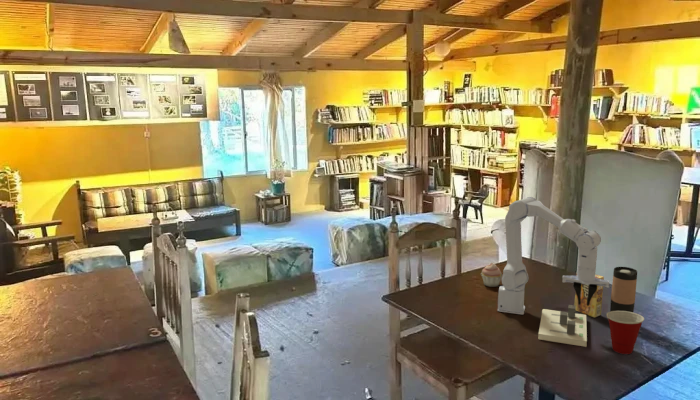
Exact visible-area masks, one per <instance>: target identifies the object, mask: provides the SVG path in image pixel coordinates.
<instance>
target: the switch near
mask: <svg viewBox="0 0 700 400" xmlns="http://www.w3.org/2000/svg"><path fill="white" fill-rule="evenodd" d="M567 334H572V335H575V321H570V320H568V323H567Z"/></svg>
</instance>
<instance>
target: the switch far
mask: <svg viewBox="0 0 700 400" xmlns="http://www.w3.org/2000/svg"><path fill="white" fill-rule="evenodd" d="M567 308H568V309H567V312H568V317H569V318H575V313H576V306H574V304H573V305H572V304H568V307H567Z"/></svg>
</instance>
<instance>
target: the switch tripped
mask: <svg viewBox="0 0 700 400" xmlns="http://www.w3.org/2000/svg"><path fill="white" fill-rule="evenodd" d="M559 311H560V324H562V325H567V317H568V311H564V310H562V311H561V310H559Z"/></svg>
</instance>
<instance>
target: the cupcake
mask: <svg viewBox="0 0 700 400" xmlns="http://www.w3.org/2000/svg"><path fill="white" fill-rule="evenodd" d="M480 276H481V278H482V280H483V285H484V286H486V287H489V288H492V287H493V288H495V287H499V286H500V284H501V283H500V282H501V280H502V276H503V274H502V272H501V269H500V268H499V267H498V266H497V265H496V264H495V263H494V262H491V263H490V264H488V265H486V266H485V267H483V268H482V269H481V273H480Z"/></svg>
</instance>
